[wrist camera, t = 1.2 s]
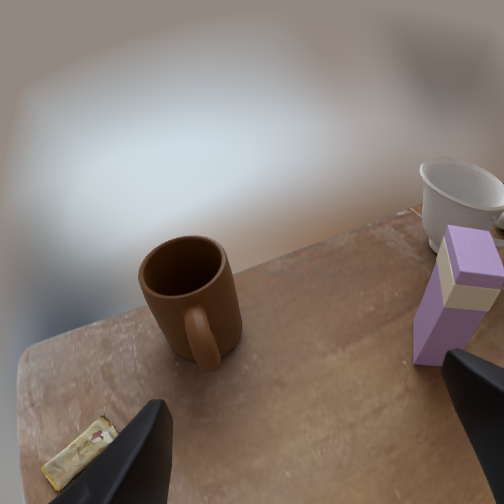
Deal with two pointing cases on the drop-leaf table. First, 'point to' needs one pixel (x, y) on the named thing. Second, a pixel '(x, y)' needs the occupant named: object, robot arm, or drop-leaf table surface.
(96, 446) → the snack bar
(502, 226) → the decorative stone
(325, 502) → the drop-leaf table surface
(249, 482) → the drop-leaf table surface
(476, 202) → the teacup
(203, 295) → the mug
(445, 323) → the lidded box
